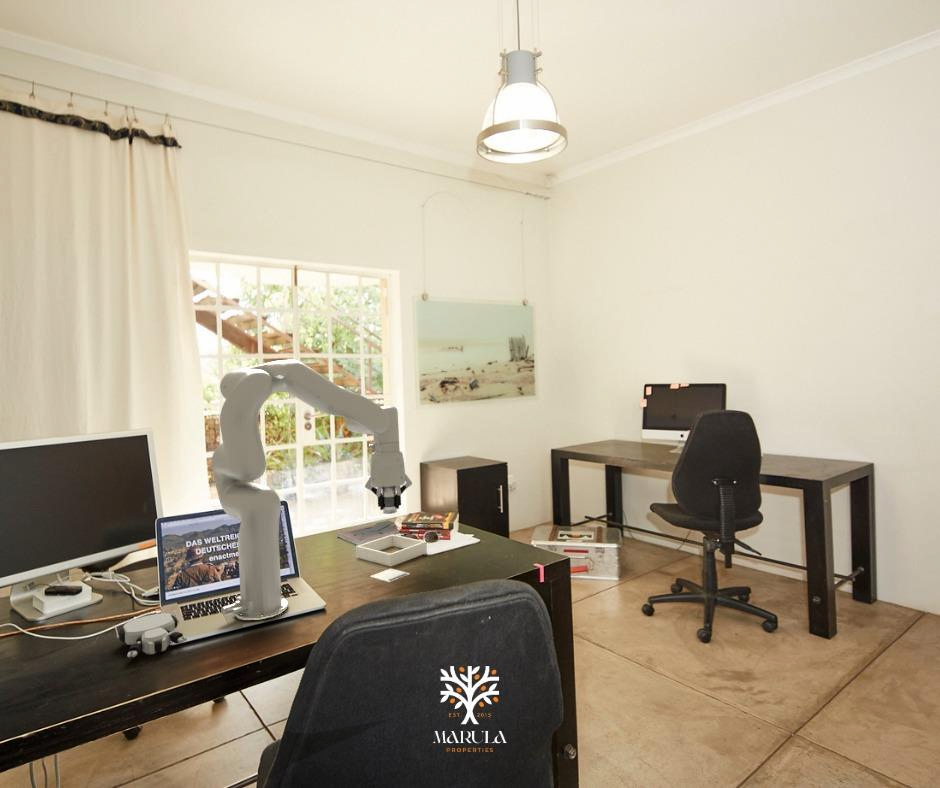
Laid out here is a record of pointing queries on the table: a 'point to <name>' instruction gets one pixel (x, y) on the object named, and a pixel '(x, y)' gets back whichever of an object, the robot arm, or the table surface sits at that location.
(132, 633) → the robot toy
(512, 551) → the table surface
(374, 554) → the tub
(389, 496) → the clear bottle
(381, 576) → the plate
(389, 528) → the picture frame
